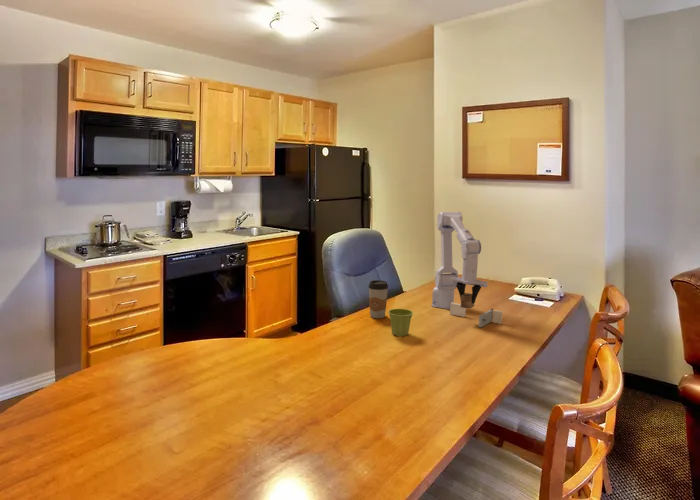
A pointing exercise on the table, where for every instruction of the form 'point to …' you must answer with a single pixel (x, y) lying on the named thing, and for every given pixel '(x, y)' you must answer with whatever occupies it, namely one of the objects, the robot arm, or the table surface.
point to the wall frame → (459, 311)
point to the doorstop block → (466, 301)
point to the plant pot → (400, 321)
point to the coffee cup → (378, 298)
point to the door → (485, 318)
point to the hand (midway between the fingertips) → (467, 301)
